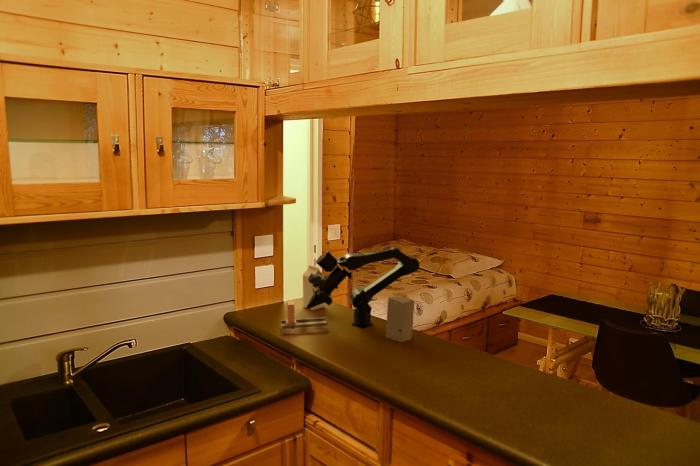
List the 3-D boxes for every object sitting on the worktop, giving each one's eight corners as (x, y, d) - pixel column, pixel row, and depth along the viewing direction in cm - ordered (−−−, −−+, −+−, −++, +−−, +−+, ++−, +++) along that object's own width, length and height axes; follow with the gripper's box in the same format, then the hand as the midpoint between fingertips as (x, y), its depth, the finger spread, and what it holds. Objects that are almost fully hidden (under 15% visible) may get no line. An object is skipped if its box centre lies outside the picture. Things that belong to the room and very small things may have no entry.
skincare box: (385, 337, 206) (385, 297, 203) (397, 333, 211) (398, 294, 208) (401, 343, 200) (402, 302, 197) (414, 339, 204) (415, 298, 202)
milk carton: (312, 310, 240) (312, 269, 237) (303, 307, 245) (302, 266, 242) (325, 307, 245) (324, 266, 242) (315, 304, 250) (314, 264, 247)
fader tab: (295, 321, 218) (295, 300, 216) (296, 325, 213) (296, 304, 211) (285, 322, 217) (285, 301, 215) (286, 326, 212) (286, 305, 211)
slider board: (324, 323, 223) (324, 316, 222) (328, 331, 213) (328, 324, 213) (280, 326, 219) (280, 319, 219) (282, 334, 210) (282, 327, 209)
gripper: (316, 261, 222) (290, 289, 222) (323, 271, 204) (295, 301, 204) (335, 278, 225) (309, 306, 225) (343, 290, 207) (316, 320, 207)
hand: (307, 308), depth 215 cm, fingers closed
